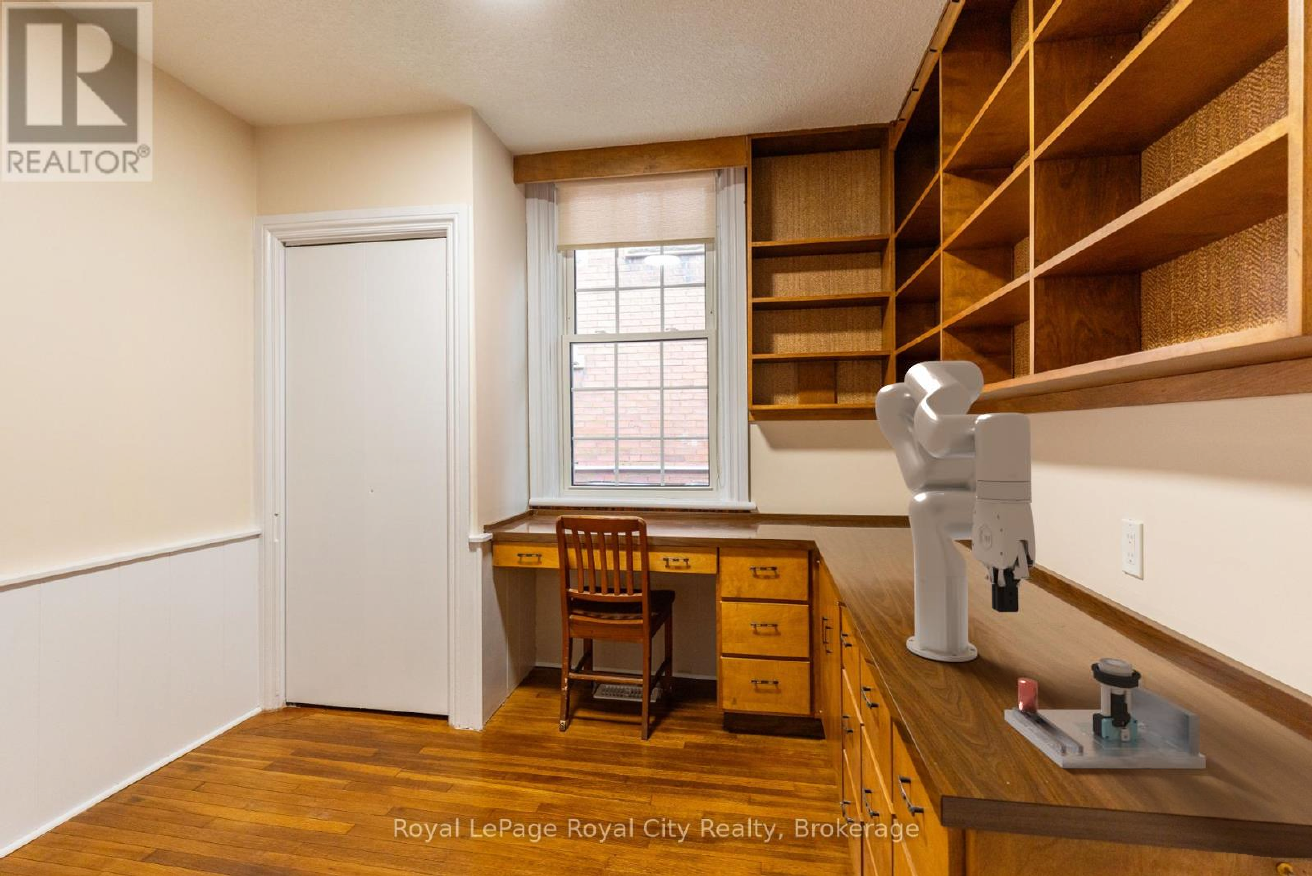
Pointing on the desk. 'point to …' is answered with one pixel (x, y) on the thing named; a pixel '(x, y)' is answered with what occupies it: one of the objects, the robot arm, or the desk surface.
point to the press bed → (1079, 747)
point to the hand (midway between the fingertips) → (1005, 610)
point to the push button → (1116, 700)
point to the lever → (1028, 697)
